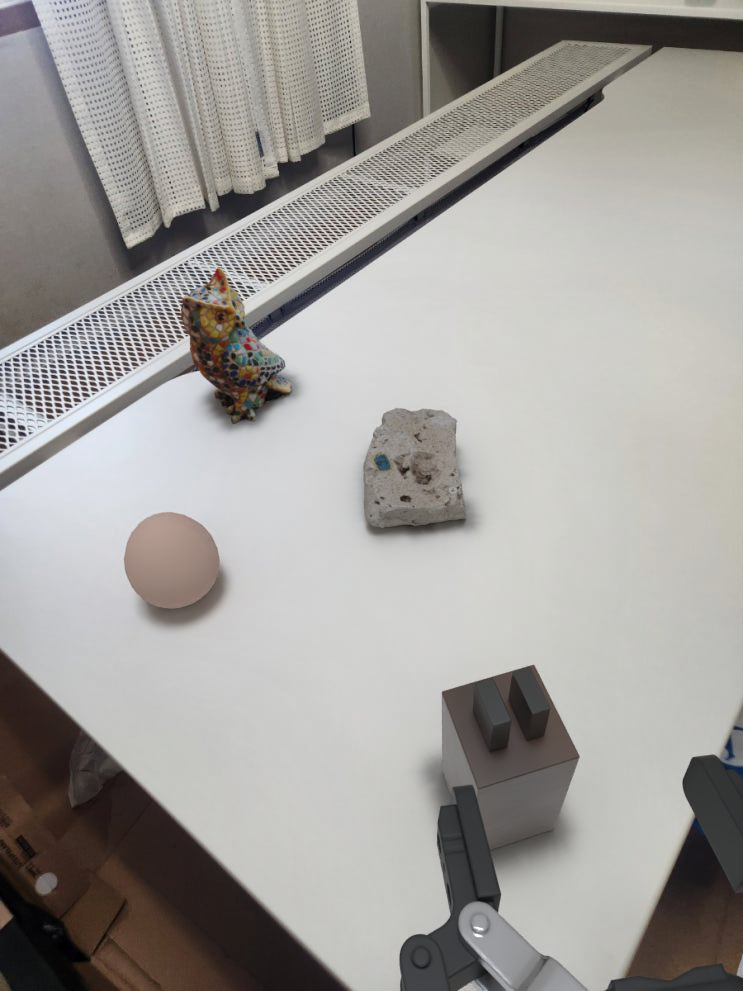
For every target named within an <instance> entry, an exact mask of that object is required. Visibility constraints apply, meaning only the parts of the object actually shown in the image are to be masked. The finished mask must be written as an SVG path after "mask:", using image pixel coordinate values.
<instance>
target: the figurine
mask: <svg viewBox="0 0 743 991" xmlns="http://www.w3.org/2000/svg"><path fill="white" fill-rule="evenodd" d="M181 302H182V303H181V308H180V319H181V321H182V325H183V327H184V330H185V332H186V334H187V336H188V337H189V351H190V355H191V360H192V363H193V364H194V365H195V367H196V368H197V370H198V371H199V373H200V374H201V376H202V377H203V378H204V379H205V380H207V381H208V382H209V383H210V384H211V385H213V387H215V388H216V389H215V390H214V392H213V393H214V399H219V401H220V404H221V406H222V407H223V408H225V409H224V412H225V413H226V414H228V415H230V416H231V418H230V420H231V423H232V424H236V423H238V422H239V421H240V422H241V421H244V420H247V421H248V420H249V421H252V422H253V421H256V418H257V414H256V413H255V412H256V411H257V410H258V409H259V408H261V407H263V406H265V403H266V402H271V401H276V400H278V399H280V398H281V397H282V396H286V395H290V394H291V393H292V383H291V382H290V381H289V380H288V379H287V378H286V377H284V376H283V375H281V374H279V373H281V372H282V371H283V370H285V369H286V361H285V359H283V357H282V356H280V355H279V354H277V353H275V352H273V351H272V350H271V349H269V347H267V346H266V345H265V344H264V343H263V342H262V341H260V339H259V338H258V336H256V335H255V333H254V332H253V330H252V329H250V328H249V327H248V326H247V322H246V321H245V318H246V312H245V305H244V303H243V300H242V298H241V296H240V294H239V293H238V291H236V289H234V288H233V287H231V286H230V285H229V279H228V277H227V274H226V273H225V272H224V270H223V269H222V268H221V267H217V268H216V269H215V271H214V273H213V274H212V275H211V276H210V280H209V281H208V282H206V283H204V284H203V285H201V286H197V287H196V288H194V289H191V290H190V292H189V293H188V294H187V295H184V296H183V297H182V299H181ZM278 374H279V375H278Z"/></svg>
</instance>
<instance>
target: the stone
mask: <svg viewBox="0 0 743 991" xmlns="http://www.w3.org/2000/svg"><path fill="white" fill-rule="evenodd" d="M457 423H458V420H457V418H455V417H453V416H452V415H451V414H449V413H448V412H446V411H445V410H443V409H432V408H421V409H418V410H413V411H411V410H409V409H407V408H401V407H395V408H393V409H391V410H388V411H386V412H384V413H383V415H382V416H381V424H380V425H379V426H377V427H376V428H375V429H374V431H372V438H371V441H370V444H369V446H368V449H367V452H366V455H365V458H364V462H363V466H362V467H363V468H362V469H363V470H362V471H363V483H364V488H363V494H364V495H363V510H364V518H365V520H366V522H367V523H368V524H370V525H371V526H372V527H375V528H381V529H382V528H392V527H397V526H405V525H411V526H413V527H416V526H425V525H428V524H434V523H442V522H443V523H444V522H447V521H457V520H465V519H467V511H466V505H465V499H464V498H465V497H464V492H463V486H462V482H461V480H460V479H461V478H460V473H459V466H458V465H457V456H456V454H455V453H456V449H457V437H456V434H457Z"/></svg>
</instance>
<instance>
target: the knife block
mask: <svg viewBox="0 0 743 991" xmlns="http://www.w3.org/2000/svg"><path fill="white" fill-rule="evenodd" d="M580 758H581V756H580V753H579V751H578V750H577V748H576V746H575V744H574V742H573V739H572V738H571V735H570V733H569V731H568V730H567V727H566V725H565V723H564V721H563V720H562V717H561V716H560V713H559V711H558V709H557V707H556V705H555V703H554V701H553V700H552V698H551V695H550V694H549V691H548V689H547V688H546V685H545V683H544V681H543V679H542V677H541V675H540V673H539V671H538V669H537V667H536V665H535V664H531V665H527V666H523V667H521V668H517V669H513V670H510V671H507V672H503V673H499V674H497V675H493V676H490V677H486V678H483V679H479V680H476V681H472V682H469V683H465V684H462V685H459V686H455V687H452V688H449V689H446V690H441V762H442V763H441V771H442V774H443V777H444V781H445V783H446V787H447V788H448V792H449V794H450V796H451V789H452V787H455V786H463V785H471V784H472V785H473V787H474V789H475V793H476V797H477V801H478V805H479V809H480V813H481V817H482V821H483V825H484V829H485V832H486V836H487V840H488V844H489V848H490V851H493V850H495V849H499V848H501V847H504V846H507V845H510V844H514V843H516V842H519V841H523V840H525V839H529V838H531V837H532V838H533V837H535V836H537V835H538V836H539V835H541V834H544V833H546V832H550V831H553V830H555V828H556V825H557V822H558V819H559V817H560V815H561V814H560V813H561V811H562V808H563V804H564V803H565V800H566V797H567V794H568V791H569V789H570V786H571V782H572V780H573V777H574V775H575V772H576V770H577V766H578V764H579V760H580Z"/></svg>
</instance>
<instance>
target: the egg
mask: <svg viewBox="0 0 743 991" xmlns="http://www.w3.org/2000/svg"><path fill="white" fill-rule="evenodd" d="M123 556H124V558H123V565H124V571H125V572H124V573H125V576H126V578H127V580H128V582H129V584H130V586H131V588H132V589H133V590H134V592H135V593H136V595H137V596H139V597H140V598H141V599H143V600H144V601H145V602H147V603H148V604H150V605H153V606H155V607H158V608H163V609H179V608H184V607H187V606H191V605H193V604H194V603H197V602H198V601H200V600H201V599H203V597H205V596H206V595H207V594H208V593H209V592H210V590H211V589H212V588H213V587H214V585H215V582H216V580H217V577H218V575H219V571H220V563H221V559H220V553H219V547H218V546H217V544H216V542H215V540H214V538H213V535H212V534H211V532H209V530H208V529H207V528H206V527H205V526H204V525H203V524H202V523H200V522H199V521H197V520H195V519H193V518H192V517H190V516H187V515H185V514H183V513H178V512H172V511H163V512H158V513H154V514H152V515H149V516H147V517H145V518H144V519H143V520H141V521H140V522H139V523H138V524H137V526H135V528H133V530H132V531H131V533H130V535H129V536H128V538H127V541H126V546H125V550H124V555H123Z"/></svg>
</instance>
